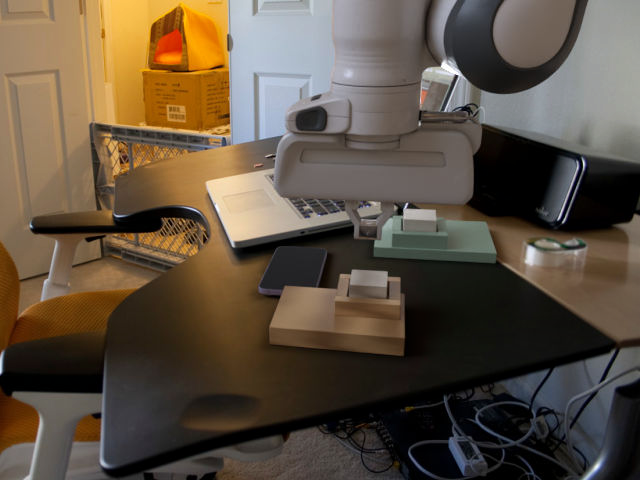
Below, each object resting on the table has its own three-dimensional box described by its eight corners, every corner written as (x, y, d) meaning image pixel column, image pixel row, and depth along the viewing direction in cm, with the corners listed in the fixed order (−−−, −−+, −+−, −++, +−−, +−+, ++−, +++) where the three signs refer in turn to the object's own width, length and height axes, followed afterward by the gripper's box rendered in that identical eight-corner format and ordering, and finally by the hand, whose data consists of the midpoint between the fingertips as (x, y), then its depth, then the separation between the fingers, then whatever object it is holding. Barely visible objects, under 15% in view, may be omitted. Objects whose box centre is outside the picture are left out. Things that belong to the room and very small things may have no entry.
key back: (434, 223, 91) (435, 209, 90) (436, 234, 87) (437, 220, 86) (402, 221, 92) (403, 208, 91) (402, 232, 88) (403, 219, 87)
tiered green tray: (485, 230, 96) (487, 209, 94) (495, 263, 85) (498, 239, 83) (376, 226, 99) (377, 205, 98) (373, 256, 88) (374, 233, 87)
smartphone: (328, 248, 90) (315, 292, 76) (328, 255, 90) (315, 301, 77) (277, 245, 92) (256, 288, 78) (277, 252, 92) (256, 296, 78)
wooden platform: (403, 308, 74) (405, 277, 73) (403, 356, 65) (405, 322, 64) (285, 299, 78) (285, 270, 76) (269, 344, 68) (268, 311, 67)
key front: (387, 285, 72) (387, 271, 72) (386, 301, 69) (387, 286, 68) (351, 283, 73) (352, 269, 73) (349, 298, 70) (349, 284, 69)
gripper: (480, 105, 64) (466, 232, 69) (280, 103, 68) (281, 222, 74) (488, 117, 58) (472, 255, 63) (269, 114, 63) (271, 243, 68)
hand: (367, 238), depth 69 cm, fingers closed
